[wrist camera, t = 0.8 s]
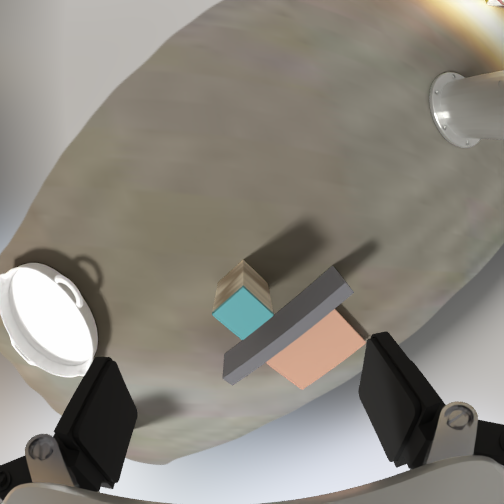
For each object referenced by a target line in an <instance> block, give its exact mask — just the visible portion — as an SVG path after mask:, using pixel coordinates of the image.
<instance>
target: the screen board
mask: <svg viewBox="0 0 504 504" xmlns="http://www.w3.org/2000/svg"><path fill="white" fill-rule="evenodd" d="M353 293H354V292H353V290H352V289H351V288H350V286H349V285H348V284H347V282H346V281H345V280H344V278H343V277H342V276H341V275H340V273H339V272H338V271H337V270H336V269H335V268H334V266H333V265H332V266H331V267H330V268H329V269H328V270H327V271H326V272H324V273H323V274H322V275H321V276H320V277H319V278H318V279H316V280H315V281H314V282H313V283H312V284H311V285H309V286H308V287H307V288H306V289H305V290H304V291H302V292H301V293H300V294H299V295H298V296H296V297H295V298H294V299H293V300H292V301H290V302H289V303H288V304H287V305H286V306H284V307H283V308H282V309H281V310H280V311H278V312H277V313H276V314H275V315H274V316H273V317H271V318H270V319H269V320H268V321H266V322H265V323H264V324H263V325H261V326H260V327H259V328H258V329H256V330H255V331H254V332H253V333H251V334H250V335H249V336H248V337H246V338H245V339H244V340H242V341H241V342H239V343H238V344H237V345H236V346H234V347H233V348H232V349H230V350H229V351H228V352H226V353H225V354H224V367H223V379H224V380H225V381H227V382H228V383H230V384H231V385H234V384H235V383H237V382H238V381H240V380H241V379H243V378H244V377H246V376H247V375H248V374H250V373H251V372H253V371H254V370H256V369H257V368H258V367H260V366H261V365H263V364H264V363H265V362H267V361H268V360H270V359H271V358H272V357H274V356H275V355H276V354H278V353H279V352H280V351H282V350H283V349H284V348H286V347H287V346H288V345H290V344H291V343H292V342H294V341H295V340H296V339H298V338H299V337H300V336H302V335H303V334H304V333H305V332H307V331H308V330H309V329H310V328H312V327H313V326H314V325H315V324H317V323H318V322H319V321H320V320H322V319H323V318H324V317H325V316H327V315H328V314H329V313H330V312H331V311H333V310H334V309H335V308H336V307H337V306H339V305H340V304H341V303H342V302H343V301H345V300H346V299H347V298H348V297H349V296H350V295H352V294H353Z"/></svg>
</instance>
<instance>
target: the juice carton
mask: <svg viewBox="0 0 504 504" xmlns="http://www.w3.org/2000/svg"><path fill="white" fill-rule="evenodd" d="M485 1H486V3H487V4H488V5H490V6H496V7H500V8H504V0H485Z"/></svg>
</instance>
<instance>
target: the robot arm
mask: <svg viewBox="0 0 504 504" xmlns="http://www.w3.org/2000/svg"><path fill="white" fill-rule="evenodd" d="M429 103H430V110H431V113H432V117H433V120H434V122H435V124H436V126H437V128H438V130H439V131H440V133H441V134H442V135H443V137H444V138H445V139H446V140H447V141H448V142H450V143H451V144H453V145H455V146H457V147H462V148H470V147H473V146H475V145H476V144H477V143H478V142H479V141H480V140H481V139H495V140H504V70H502V71H497V72H491V73H486V74H481V75H477V76H472V77H468V78H465V77H463V76H462V75H460V74H457V73H454V72H447V73H443V74H441V75H439V76H438V77H437V78H435V80H434V81H433V83H432V85H431V88H430V94H429ZM359 397H360V400H361V402H362V404H363V406H364V408H365V410H366V412H367V414H368V416H369V419H370V421H371V423H372V425H373V427H374V429H375V431H376V433H377V435H378V438H379V440H380V442H381V444H382V447H383V449H384V451H385V453H386V455H387V458H388V459H389V461H390V462H393V461H394V463H395V466H396V467H399V466H402V465H404V464H407V465H408V467H409V468H410V470H409V471H406V472H403V473H400V474H397V475H395V476H392V477H389V478H385V479H383V480H379V481H376V482H372V483H369V484H365V485H362V486H358V487H354V488H350V489H346V490H343V491H338V492H334V493H329V494H325V495H319V496H314V497H308V498H303V499H296V500H289V501H282V502H272V503H262V504H504V425H502V424H496V423H491V422H487V421H482V420H478V415H477V412H476V410H475V409H474V408H473V407H472V406H471V405H469V404H467V403H464V402H452V403H449V404H447V405H445V404H444V402H443V401H442V399H441V398H440V397H439V396H438V394H437V393H436V391H435V390H434V389H433V387H432V386H431V385H430V384H429V382H428V381H427V379H426V378H425V377H424V376H423V374H422V373H421V372H420V371H419V369H418V368H417V366H416V365H415V364H414V363H413V362H412V361H411V360H410V359H409V358H408V357H407V356H406V354H405V353H404V352H403V350H402V349H401V348H400V347H399V345H398V344H397V343H396V341H395V340H394V339H393V338H392V336H391V335H390V334H389V333H388V332H381V333H376V334H373V335H372V336H371V339H368V340H367V344H366V351H365V357H364V364H363V369H362V375H361V381H360V386H359ZM136 419H137V409H136V406H135V404H134V402H133V400H132V398H131V396H130V394H129V391H128V389H127V387H126V385H125V382H124V380H123V378H122V375H121V373H120V370H119V368H118V366H117V363H116V362H115V361H113V360H112V359H111V358H110V357H96V358H95V359H94V360H93V362H92V364H91V365H90V367H89V369H88V370H87V372H86V374H85V376H84V377H83V379H82V381H81V382H80V384H79V386H78V388H77V389H76V391H75V393H74V395H73V397H72V398H71V400H70V402H69V404H68V406H67V407H66V409H65V411H64V413H63V415H62V417H61V419H60V421H59V423H58V424H57V426H56V428H55V430H54V432H55V434H54V436H53V437H52V436H50V435H48V434H39V435H36V436H34V437H32V438H31V439H30V440H29V441H28V443H27V445H26V447H25V456H23V457H20V458H18V459H16V460H13V461H11V462H8V463H6V464H3V465H0V504H170V503H160V502H151V501H144V500H137V499H130V498H124V497H118V496H113V495H108V494H103V493H100V492H99V490H100V487H106V488H111V489H113V487H114V484H115V483H117V482H118V481H119V478H120V474H121V471H122V467H123V463H124V460H125V456H126V453H127V449H128V446H129V442H130V439H131V436H132V432H133V429H134V426H135V422H136Z"/></svg>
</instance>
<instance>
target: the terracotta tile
mask: <svg viewBox="0 0 504 504" xmlns="http://www.w3.org/2000/svg"><path fill="white" fill-rule="evenodd" d="M365 343H366V342H365V340H364V339H363V338H362V337H361V336H360V334H359V333H358V332H357V331H356V330H355V329H354V328H353V327H352V326H351V325H350V324H349V323H348V322H347V320H346V319H345V318H344V317H343V316H342V315H341V314H340V313H339V312H338V311H337V310H336V309H334V310H333V311H331V312H330V313H329V314H328V315H327V316H325V317H324V318H323V319H322V320H320V321H319V322H318V323H317V324H315V325H314V326H313V327H312V328H310V329H309V330H308V331H307V332H305V333H304V334H303V335H302V336H300V337H299V338H298V339H296V340H295V341H294V342H292V343H291V344H290V345H288V346H287V347H286V348H284V349H283V350H282V351H280V352H279V353H278V354H276V355H275V356H274V357H272V358H271V359H270V360H268V361H267V362H265V363H267V364H268V365H269V366H271V367H272V368H273V369H275V370H276V371H277V372H279V373H280V374H281V375H283V376H284V377H285V378H287V379H288V380H289V381H291V382H292V383H293V384H295V385H296V386H297V387H299V388H300V389H302V390H303V389H304V388H305V387H307V386H308V385H310V384H311V383H313V382H314V381H316V380H317V379H319V378H320V377H322V376H323V375H324V374H326V373H327V372H329V371H330V370H331V369H333V368H334V367H335V366H337V365H338V364H339V363H341V362H342V361H343V360H345V359H346V358H347V357H349V356H350V355H351V354H353V353H354V352H355V351H357V350H358V349H359V348H360V347H362V346H363V345H364V344H365Z"/></svg>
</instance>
